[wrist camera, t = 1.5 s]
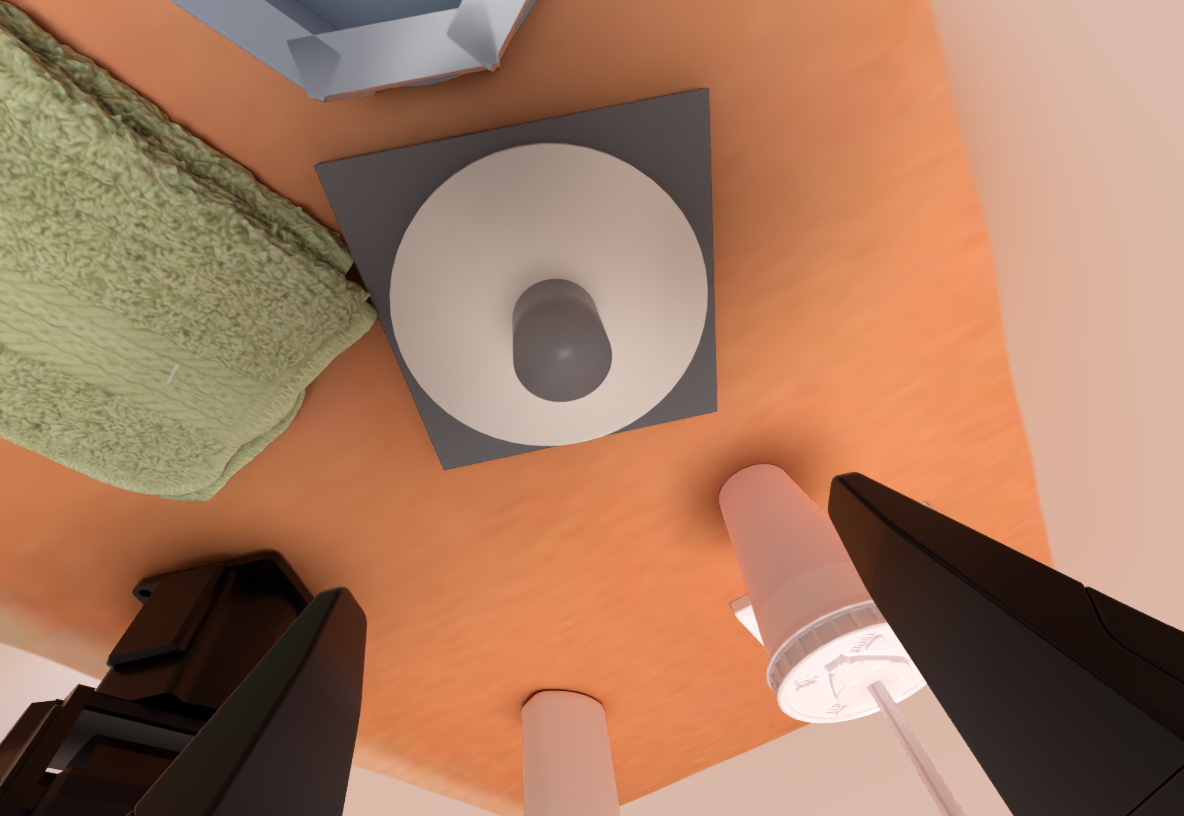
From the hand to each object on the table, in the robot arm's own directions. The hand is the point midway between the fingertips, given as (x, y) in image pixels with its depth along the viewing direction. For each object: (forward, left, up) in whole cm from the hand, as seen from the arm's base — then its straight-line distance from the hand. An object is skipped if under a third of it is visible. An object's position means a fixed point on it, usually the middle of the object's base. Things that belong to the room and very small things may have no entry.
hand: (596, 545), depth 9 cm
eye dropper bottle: (-28, +5, -12) cm, 31 cm away
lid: (0, 0, -11) cm, 11 cm away
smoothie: (-12, -8, -12) cm, 19 cm away
